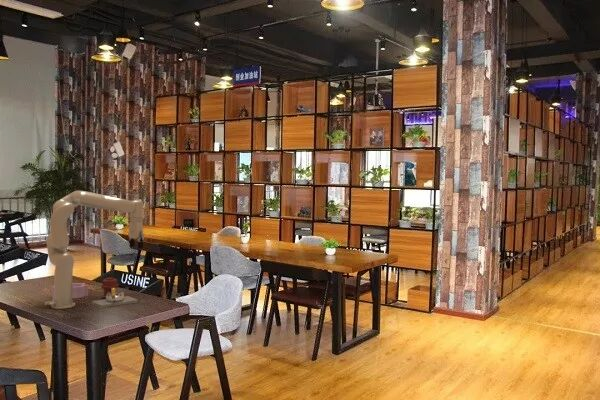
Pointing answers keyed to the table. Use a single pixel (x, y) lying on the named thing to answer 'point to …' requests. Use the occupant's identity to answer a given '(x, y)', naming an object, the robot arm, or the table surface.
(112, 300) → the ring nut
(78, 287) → the pink rectangular box
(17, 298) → the table surface
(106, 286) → the mechanical component
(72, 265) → the robot arm
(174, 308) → the table surface
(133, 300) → the base plate
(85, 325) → the table surface
